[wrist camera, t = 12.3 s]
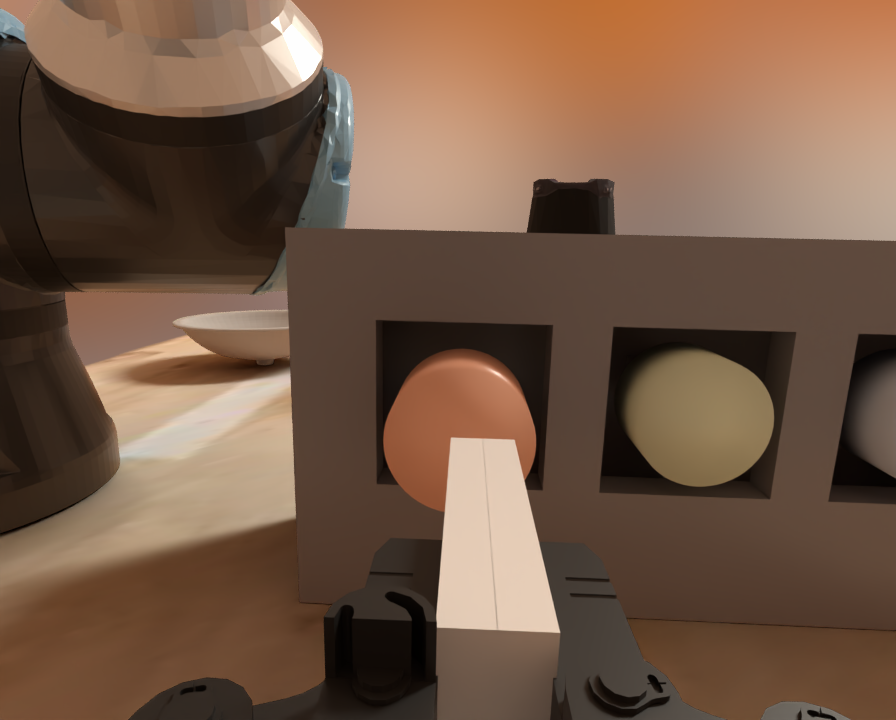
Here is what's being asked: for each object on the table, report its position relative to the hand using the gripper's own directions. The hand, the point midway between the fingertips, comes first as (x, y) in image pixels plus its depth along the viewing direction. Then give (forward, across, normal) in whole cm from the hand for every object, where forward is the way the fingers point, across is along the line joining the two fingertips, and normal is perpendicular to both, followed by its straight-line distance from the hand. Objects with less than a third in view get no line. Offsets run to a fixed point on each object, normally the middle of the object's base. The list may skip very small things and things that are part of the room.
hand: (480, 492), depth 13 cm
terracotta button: (+6, -1, -2) cm, 6 cm away
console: (+10, +8, -8) cm, 15 cm away
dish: (+47, -22, -8) cm, 52 cm away
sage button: (+8, +7, -2) cm, 11 cm away
